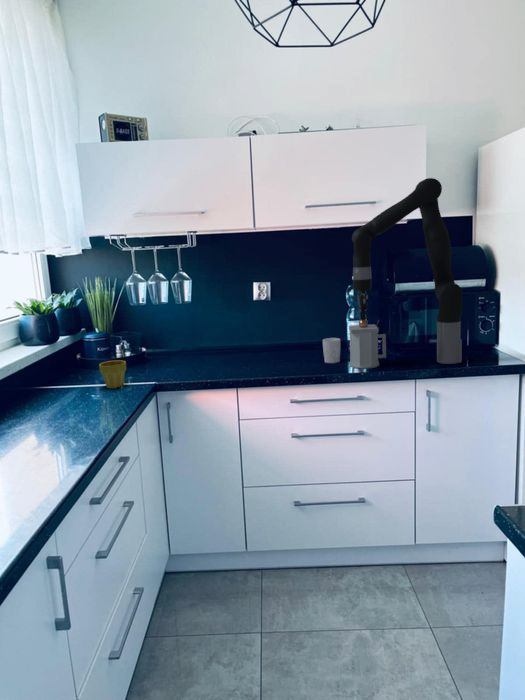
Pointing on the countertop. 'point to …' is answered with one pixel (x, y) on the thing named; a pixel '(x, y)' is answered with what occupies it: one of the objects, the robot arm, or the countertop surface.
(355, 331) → the press
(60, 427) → the countertop surface
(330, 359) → the white cup
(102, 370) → the plant pot
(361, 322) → the plunger
